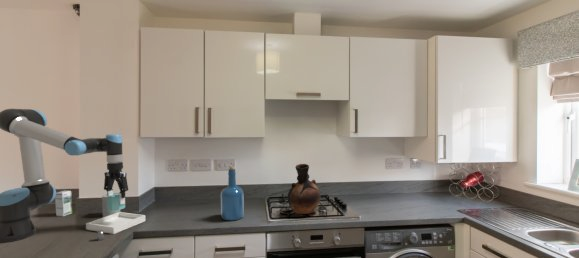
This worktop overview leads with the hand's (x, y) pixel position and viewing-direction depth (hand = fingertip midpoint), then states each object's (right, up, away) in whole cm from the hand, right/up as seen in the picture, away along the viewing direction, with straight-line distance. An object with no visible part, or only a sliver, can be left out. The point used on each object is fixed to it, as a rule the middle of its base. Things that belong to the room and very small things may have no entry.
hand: (116, 203), depth 159 cm
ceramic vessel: (+105, -11, +17) cm, 107 cm away
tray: (0, -12, 0) cm, 12 cm away
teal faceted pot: (0, -3, 0) cm, 3 cm away
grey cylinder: (-14, -12, +18) cm, 26 cm away
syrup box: (-44, -12, +19) cm, 50 cm away
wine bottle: (+62, -11, +11) cm, 64 cm away
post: (+4, -13, -19) cm, 23 cm away
